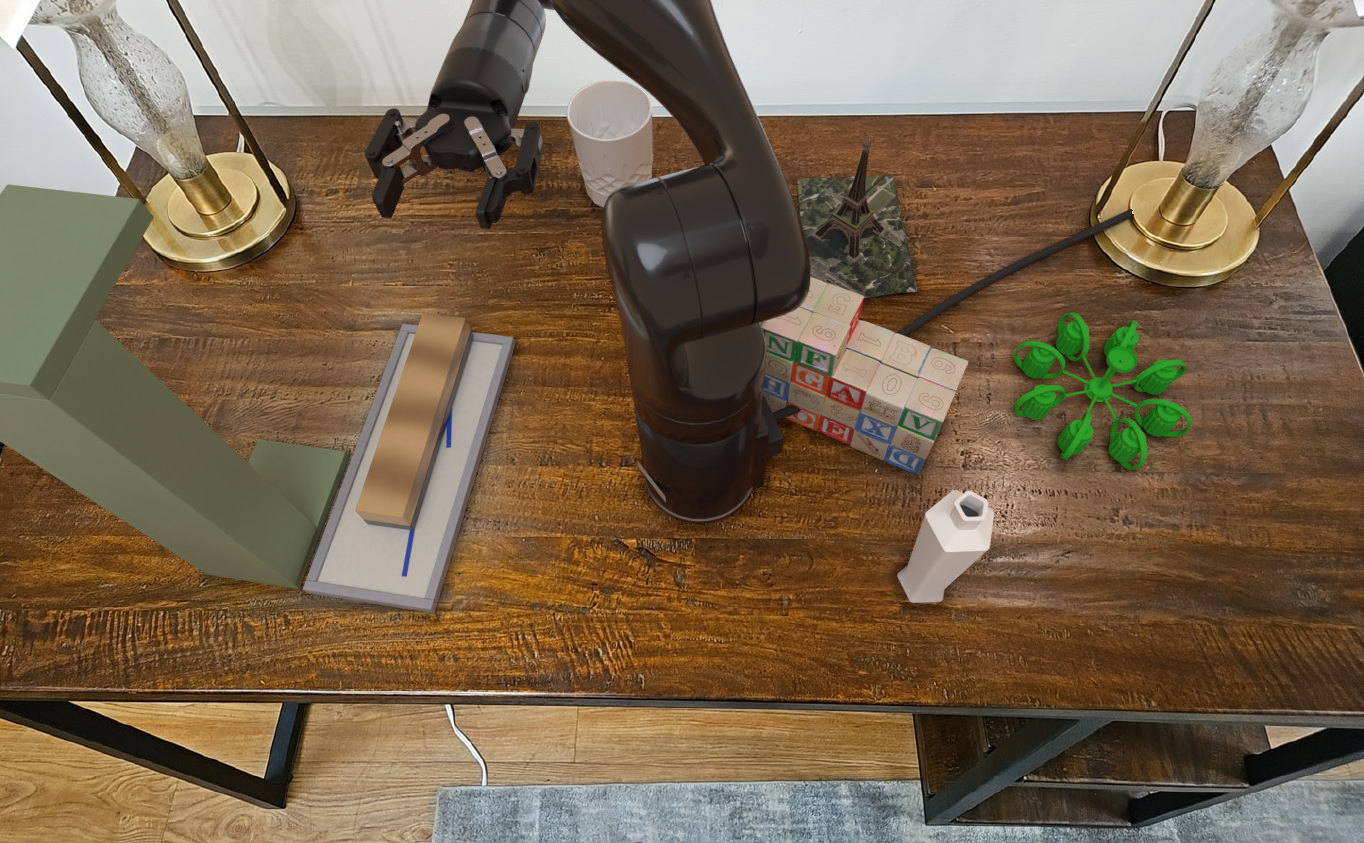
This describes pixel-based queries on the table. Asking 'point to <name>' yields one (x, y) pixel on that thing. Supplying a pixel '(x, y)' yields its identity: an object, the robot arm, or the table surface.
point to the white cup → (611, 136)
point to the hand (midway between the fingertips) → (432, 216)
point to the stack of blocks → (858, 378)
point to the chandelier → (1102, 390)
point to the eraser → (415, 423)
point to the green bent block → (136, 404)
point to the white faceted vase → (947, 545)
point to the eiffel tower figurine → (856, 232)
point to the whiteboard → (419, 559)
